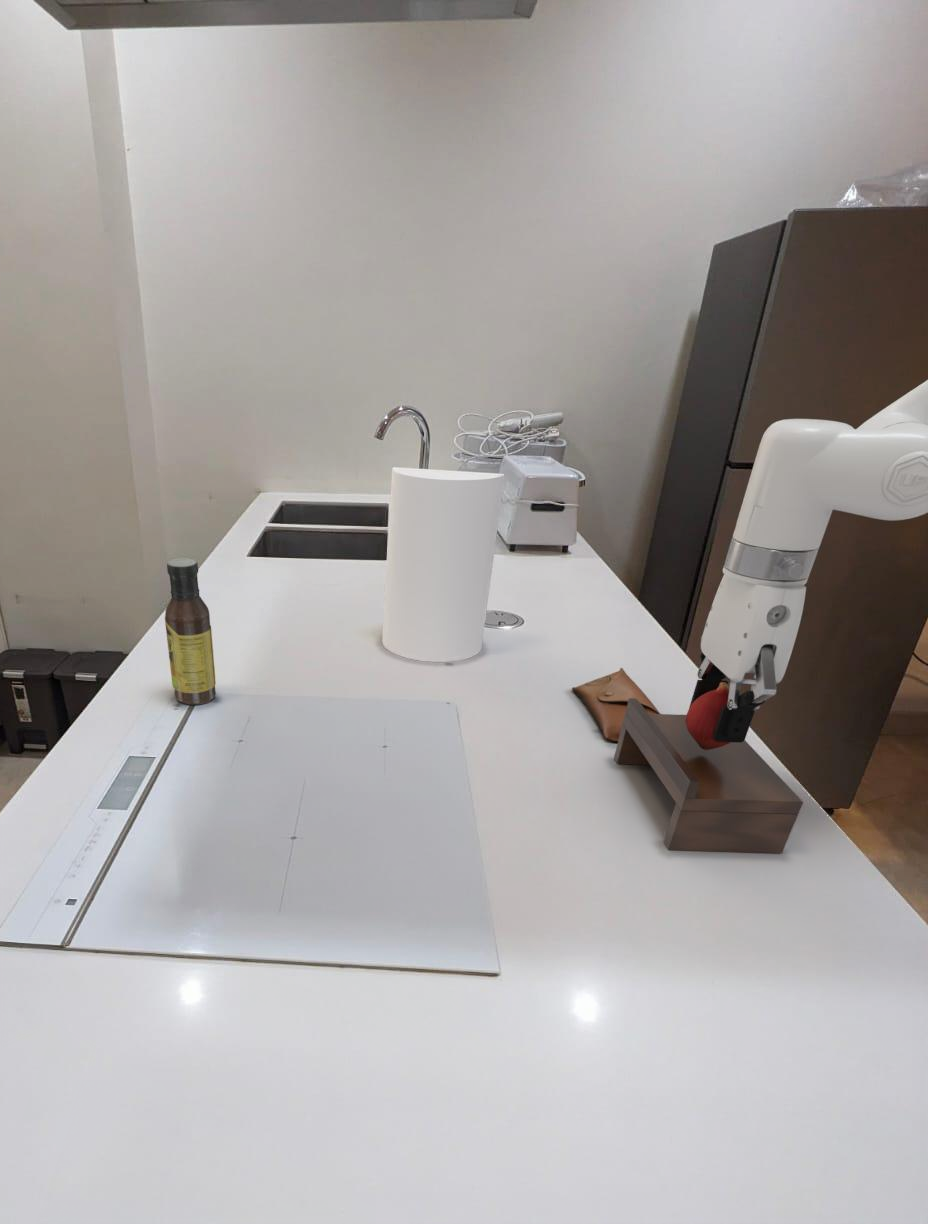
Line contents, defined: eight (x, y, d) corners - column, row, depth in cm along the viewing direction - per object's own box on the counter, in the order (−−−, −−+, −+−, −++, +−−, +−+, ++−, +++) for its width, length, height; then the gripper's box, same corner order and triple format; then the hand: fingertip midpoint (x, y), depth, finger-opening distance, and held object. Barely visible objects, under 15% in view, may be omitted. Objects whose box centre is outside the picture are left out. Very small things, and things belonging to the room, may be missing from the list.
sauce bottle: (182, 687, 113) (169, 552, 103) (221, 690, 112) (213, 555, 102) (167, 704, 108) (151, 565, 97) (208, 708, 107) (198, 568, 96)
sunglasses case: (567, 685, 115) (597, 650, 112) (601, 707, 117) (631, 673, 114) (606, 740, 99) (641, 701, 96) (644, 764, 102) (680, 727, 99)
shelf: (707, 761, 96) (727, 700, 92) (781, 853, 79) (810, 785, 75) (613, 758, 97) (628, 698, 92) (668, 850, 80) (690, 781, 75)
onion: (736, 745, 85) (759, 680, 81) (730, 766, 81) (754, 699, 77) (682, 732, 88) (701, 668, 83) (674, 753, 83) (693, 686, 79)
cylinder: (475, 667, 122) (499, 483, 107) (372, 655, 126) (381, 475, 111) (486, 632, 136) (508, 465, 121) (393, 622, 140) (403, 459, 125)
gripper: (857, 588, 66) (786, 766, 75) (766, 541, 80) (717, 695, 90) (771, 586, 66) (711, 764, 76) (695, 539, 80) (654, 693, 90)
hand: (715, 725), depth 83 cm, fingers closed on onion, 5 cm apart
